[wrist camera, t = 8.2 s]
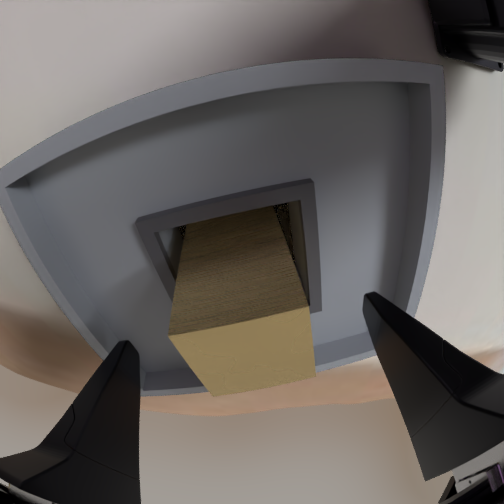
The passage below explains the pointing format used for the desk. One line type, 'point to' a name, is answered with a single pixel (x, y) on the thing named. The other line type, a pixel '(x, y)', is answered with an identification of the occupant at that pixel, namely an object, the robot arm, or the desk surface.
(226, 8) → the desk surface
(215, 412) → the desk surface
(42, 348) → the desk surface
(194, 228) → the connector plug
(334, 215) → the grey socket tray
